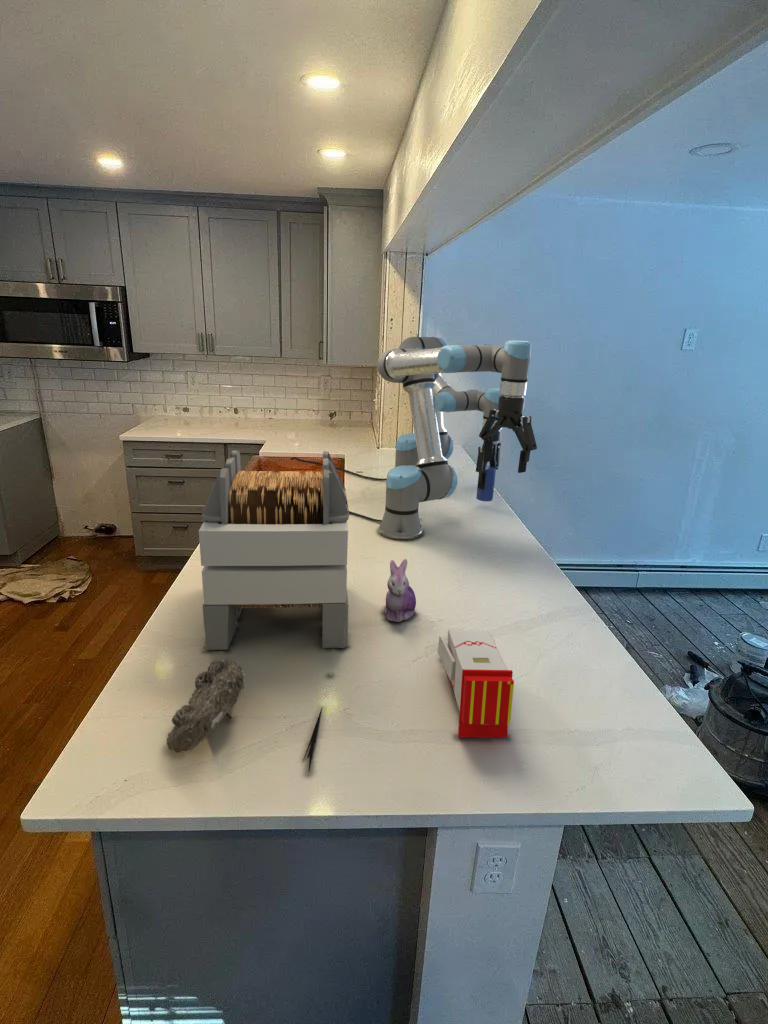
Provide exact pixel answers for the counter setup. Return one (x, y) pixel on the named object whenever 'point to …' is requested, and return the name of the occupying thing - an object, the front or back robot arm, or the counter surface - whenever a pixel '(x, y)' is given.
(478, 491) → the can
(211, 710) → the fossil
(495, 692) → the toy
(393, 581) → the figurine
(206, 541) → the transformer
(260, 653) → the counter surface
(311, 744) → the feather
